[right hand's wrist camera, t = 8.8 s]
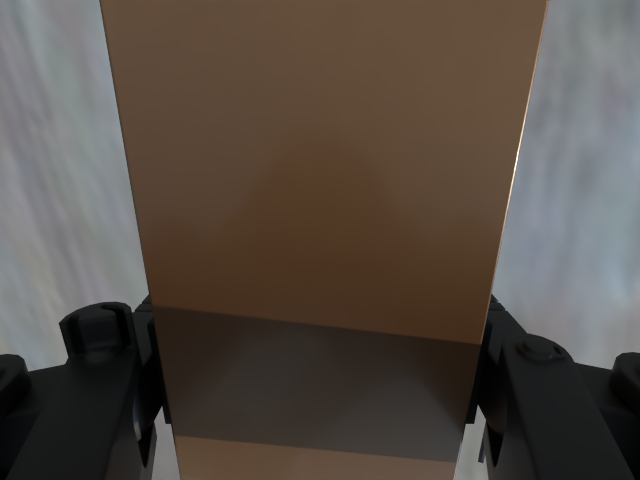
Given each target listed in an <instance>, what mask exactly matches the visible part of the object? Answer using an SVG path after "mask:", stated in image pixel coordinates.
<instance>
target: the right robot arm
mask: <svg viewBox="0 0 640 480" xmlns="http://www.w3.org/2000/svg"><path fill="white" fill-rule="evenodd" d="M59 326H60V329H61V333H62V336H63V340H64V343H65V346H66V350H67V353H68V357H69V358H68V360H67V361H66V363H65V364H64V365H60V366H55V367H50V368H45V369H40V370H34V371H29V372H28V370H27V367H26V364H25V361H24V359H23V358H22V357H20V356H19V355H12V354H4V355H0V480H151V478H152V471H153V463H154V456H155V448H156V440H157V435H156V428H155V423H154V420H155V418H156V416H157V414H158V412H159V410H160V409H161V407H163V412H164V418H165V423H166V424H171V420H170V414H169V408H168V402H167V397H166V391H165V385H164V379H163V373H162V367H161V361H160V355H159V349H158V343H157V338H156V332H155V326H154V320H153V314H152V308H151V302H150V296H149V295H148V296H147V297H146V298H145V299H144V300H143V302H142V304H140V305H139V306H138V307H137V308H136V309H135V312H133V313H132V311H131V307H130V306H128V305H127V304H125V303H120V302H102V303H98V304H93V305H89V306H86V307H83V308H81V309H78V310H76V311H74V312H72V313H71V314H69V315H67V316H66V317H65V318H64V319H63V320H62V321H61V322H59ZM478 405H479V407H480V409H481V411H482V413H483V415H484V417H485V419H486V423H485V428H484V433H483V438H482V443H481V448H480V453H479V459H478V462H481V463H483V462H484V458H485V455H486V462H487V470H488V477H489V480H640V353H635V352H630V353H622V354H620V355H619V356H618V357H616V360H615V363H614V366H613V368H612V370H609V369H604V368H599V367H594V366H589V365H584V364H579V363H575V362H574V361H573V359H572V357H571V356H570V355H569V353H568V352H567V351H566V350H565V349H564V348H563V347H561V346H560V345H558V344H557V343H555V342H553V341H551V340H548V339H546V338H544V337H541V336H537V335H533V334H527V333H526V332H525V330H524V329H523V328H522V327H521V326H520V325H519V324H518V323H517V321H516V320H515V319H514V318H513V317H512V316H511V315H510V314H509V313H508V311H505V308H504V307H503V306H502V305H501V304H500V303H498V300H497V299H496V298H495V297H494V296H493V295H492V294H491V298H490V303H489V308H488V313H487V318H486V324H485V329H484V334H483V339H482V344H481V349H480V354H479V359H478V364H477V369H476V374H475V379H474V384H473V389H472V395H471V400H470V405H469V410H468V415H467V420H466V424H474V422H475V416H476V411H477V406H478Z"/></svg>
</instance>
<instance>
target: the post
mask: <svg viewBox="0 0 640 480" xmlns="http://www.w3.org/2000/svg"><path fill="white" fill-rule="evenodd" d="M99 1H100V7H101V13H102V19H103V25H104V31H105V37H106V43H107V48H108V54H109V60H110V66H111V72H112V78H113V84H114V90H115V96H116V102H117V107H118V113H119V119H120V125H121V131H122V137H123V143H124V149H125V155H126V161H127V166H128V172H129V178H130V184H131V190H132V196H133V202H134V208H135V214H136V220H137V225H138V231H139V237H140V243H141V249H142V255H143V261H144V267H145V273H146V279H147V284H148V290H149V296H150V302H151V308H152V314H153V320H154V326H155V332H156V338H157V343H158V349H159V355H160V361H161V367H162V373H163V379H164V385H165V391H166V397H167V402H168V408H169V414H170V420H171V426H172V432H173V438H174V444H175V450H176V456H177V461H178V467H179V473H180V479H181V480H455V476H456V471H457V466H458V461H459V455H460V450H461V445H462V440H463V435H464V430H465V425H466V420H467V415H468V410H469V405H470V400H471V395H472V389H473V384H474V379H475V374H476V369H477V364H478V359H479V354H480V349H481V344H482V339H483V334H484V329H485V324H486V318H487V313H488V308H489V303H490V298H491V293H492V288H493V283H494V278H495V273H496V268H497V263H498V258H499V252H500V247H501V242H502V237H503V232H504V227H505V222H506V217H507V212H508V207H509V202H510V197H511V192H512V186H513V181H514V176H515V171H516V166H517V161H518V156H519V151H520V146H521V141H522V136H523V131H524V126H525V120H526V115H527V110H528V105H529V100H530V95H531V90H532V85H533V80H534V75H535V70H536V65H537V60H538V55H539V49H540V44H541V39H542V34H543V29H544V24H545V19H546V14H547V9H548V4H549V0H99Z"/></svg>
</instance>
